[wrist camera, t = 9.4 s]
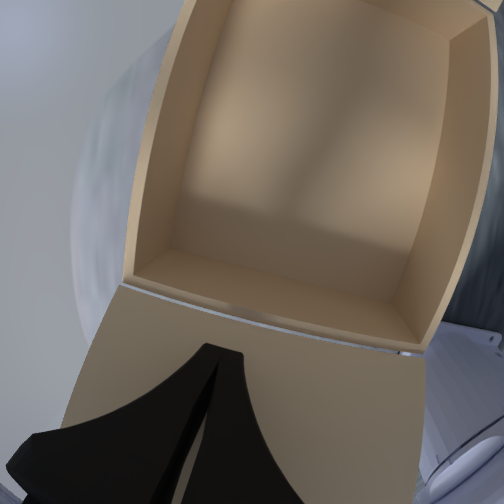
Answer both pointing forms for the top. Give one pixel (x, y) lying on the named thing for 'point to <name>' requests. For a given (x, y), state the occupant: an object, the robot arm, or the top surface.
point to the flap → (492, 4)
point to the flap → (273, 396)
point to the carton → (317, 163)
